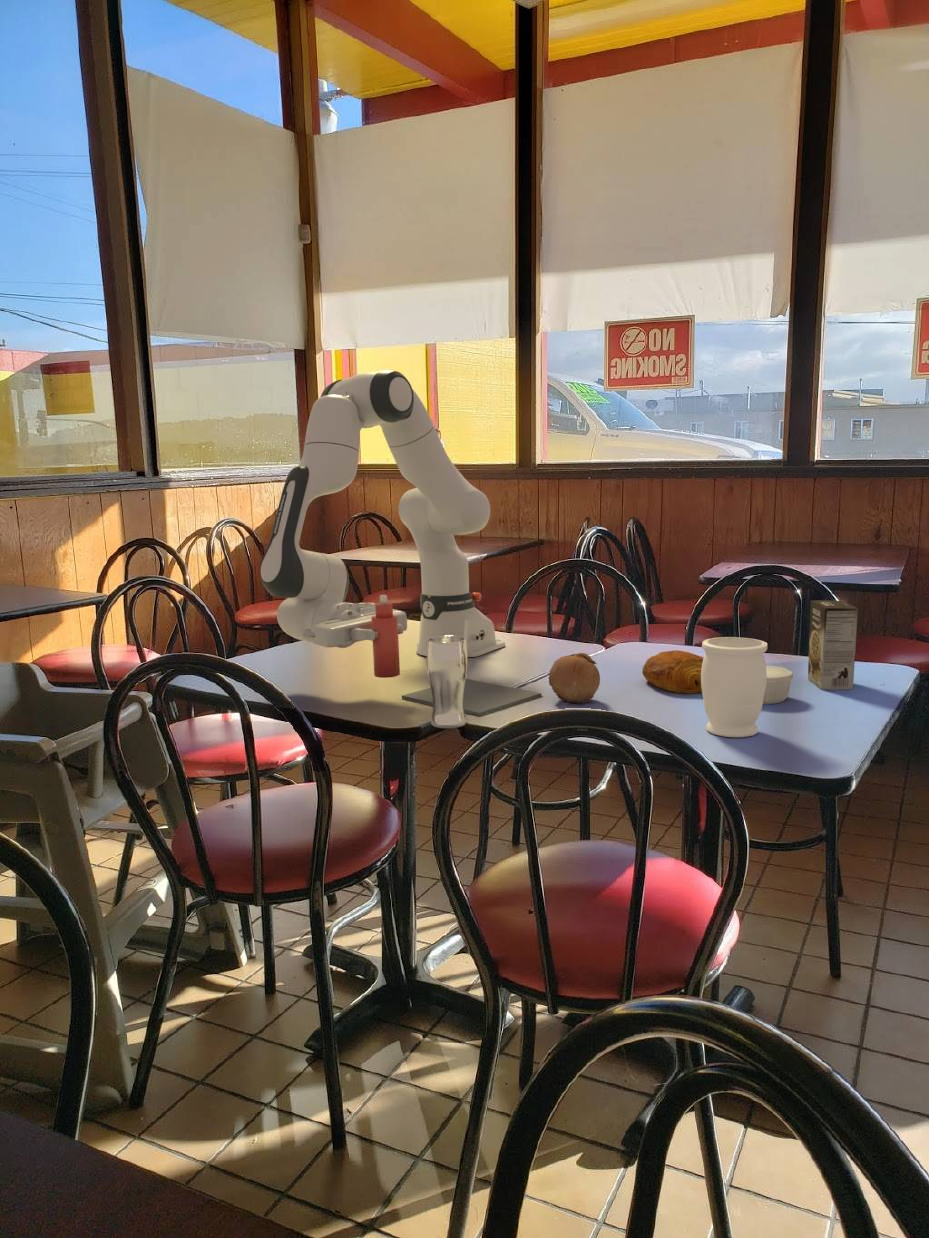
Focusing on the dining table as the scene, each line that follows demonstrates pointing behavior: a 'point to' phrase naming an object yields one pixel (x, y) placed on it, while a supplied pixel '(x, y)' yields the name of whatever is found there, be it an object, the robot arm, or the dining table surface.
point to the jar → (733, 684)
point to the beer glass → (447, 679)
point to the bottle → (385, 640)
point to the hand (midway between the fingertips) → (388, 632)
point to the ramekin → (777, 684)
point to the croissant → (675, 671)
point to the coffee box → (832, 644)
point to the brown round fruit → (574, 678)
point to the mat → (481, 697)
